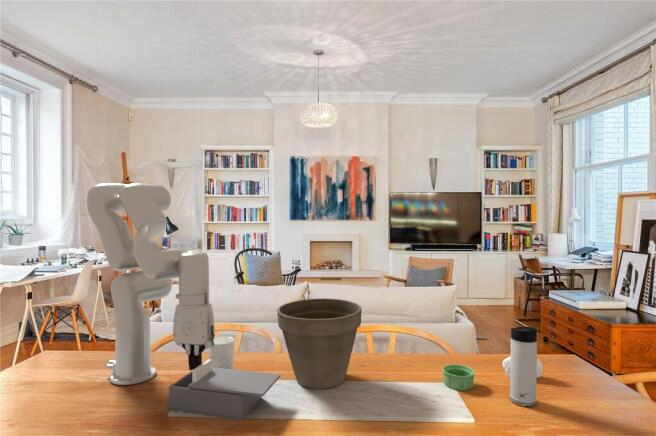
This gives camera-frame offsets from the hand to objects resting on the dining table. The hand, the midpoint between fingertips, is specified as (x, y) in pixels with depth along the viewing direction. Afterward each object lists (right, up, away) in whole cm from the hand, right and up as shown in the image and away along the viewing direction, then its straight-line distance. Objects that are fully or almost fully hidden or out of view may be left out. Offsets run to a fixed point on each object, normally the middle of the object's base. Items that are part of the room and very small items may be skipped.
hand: (195, 368), depth 109 cm
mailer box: (+6, -9, -1) cm, 11 cm away
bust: (+94, -9, +17) cm, 96 cm away
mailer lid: (+11, -3, -3) cm, 12 cm away
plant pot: (+32, -9, +14) cm, 37 cm away
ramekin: (+73, -9, +11) cm, 74 cm away
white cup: (+2, -9, +20) cm, 22 cm away
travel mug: (+87, -9, 0) cm, 87 cm away
